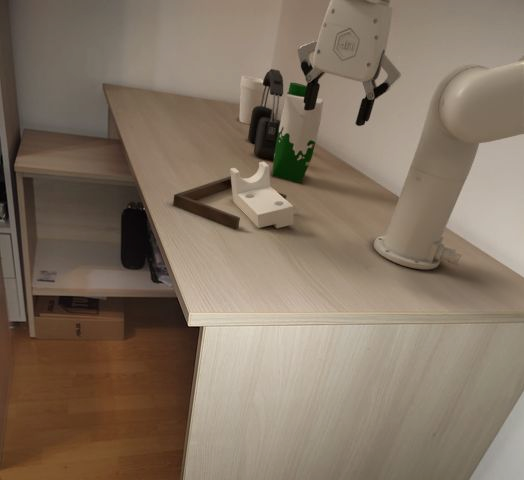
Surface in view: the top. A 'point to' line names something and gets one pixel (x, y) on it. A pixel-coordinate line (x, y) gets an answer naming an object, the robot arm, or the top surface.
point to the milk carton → (296, 135)
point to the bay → (188, 203)
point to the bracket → (260, 199)
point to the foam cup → (250, 96)
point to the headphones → (266, 118)
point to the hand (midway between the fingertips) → (334, 117)
